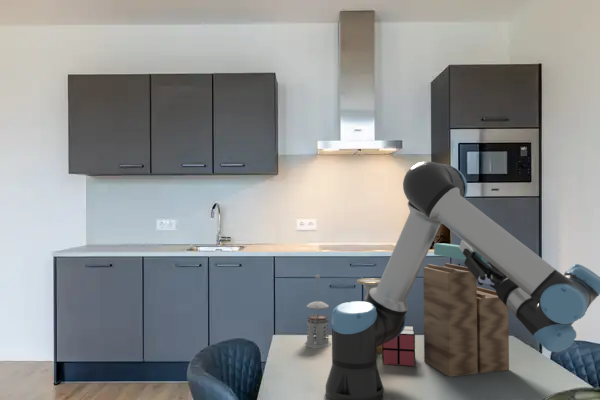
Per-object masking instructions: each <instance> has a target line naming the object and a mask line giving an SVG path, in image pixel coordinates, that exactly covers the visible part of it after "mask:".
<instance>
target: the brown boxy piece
mask: <svg viewBox="0 0 600 400" xmlns="http://www.w3.org/2000/svg"><path fill="white" fill-rule="evenodd" d="M422 267H423V266H422ZM422 270H423V273H422V274H423V275H422V276H423V280H422V282H423V351H424V353H423V358H424V359H423V360H424V362H425V363H426V364H428V365H430V366H431V367H433V368H435V370H436V369H437V370H438V371H439V372H441V373H442V374H445V375H446V376H448V377H456V376H457V377H458V376H465V375H474V374H478V373H480V374H484V373H492V372H502V371H509V370H510V350H509V349H510V346H509V345H510V342H509V341H510V336H509V335H510V334H509V329H510V328H509V308H508V307H507V306H506V305H505V304H504V303H503V302H502V301H501V300H500V299H499V297H498V296H497V293H496V290H494V289H493V290H492V289H489V288H484V287H481V286H478V285H477V284H478V283H477V279H476V278H475V276H474V275H473V274H472V273H471V271H470V270H469V269H468V268H467V266H465V265H464V266H463V265H459V264H453V263H448V262H446V263H444V265H443V266H441V265H436V264H432V263H426V267H425V266H424V267H423V268H422Z"/></svg>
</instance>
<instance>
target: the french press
mask: <svg viewBox="0 0 600 400" xmlns="http://www.w3.org/2000/svg"><path fill="white" fill-rule="evenodd" d="M314 278H315V279H317V280H316V281H317V282H316V283H317V292H316V293H317V294H316V295H317V296H319V279H321V275H320V274H315V276H314ZM306 308H307V309H311V310H326V309H328V308H329V304H327V303H325V302H324V301H319V300H316V301H312V302H310V303H309V302H308V304H307V305H306ZM307 318H308V319H307V320H306V325H307V326H306V331H307V334H306V341H305V342H304V345H305V346H306V347H309V348H314V349H315V348H316V349H318V348H319V349H323V348H327V347H330V346H332V341H330V340H329V329H330V328H329V327H330V326H329V320H328V316H327V315H325V314H319V312H316V313H315V314H314V312H313V311H312V312H311V314H310V315H309V316H308V317H307Z"/></svg>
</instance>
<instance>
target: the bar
mask: <svg viewBox="0 0 600 400" xmlns="http://www.w3.org/2000/svg"><path fill="white" fill-rule="evenodd" d="M459 246H460V244H459V245H458V244H452V243H440V242H439V243H434V244H433V255H435V256H441V257H446V258H452V259H456V260H457V259H459V260H464V261H465V260H466V257H465V255H464V254H463V252H462V251H461V250H460V249H459ZM471 248H472V247H471ZM472 249H473V248H472ZM473 250H474V249H473ZM474 251H475V250H474ZM475 252H476V251H475ZM476 256H477V257H478V258H480V259H481V260H482V261H483V262H485V263H487V262H488V261H487V260H486V259H485V258H484V257H482V256H481V255H480V254H479V253H478V252H476Z"/></svg>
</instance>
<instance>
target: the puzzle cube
mask: <svg viewBox="0 0 600 400" xmlns="http://www.w3.org/2000/svg"><path fill="white" fill-rule="evenodd" d="M381 354H382V355H381V357H382V364H383V365H385V366H386V365H387V366H388V365H389V366H391V365H392V366H402V367H415V366H416V334H415V328H414V326H407V325H405V328H404V330H403V331H402V332H401V333H400V335H399V336H397V337H396V338H395V339H393V340H391V341H388V342H386V343H384V344H382V353H381Z"/></svg>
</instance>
